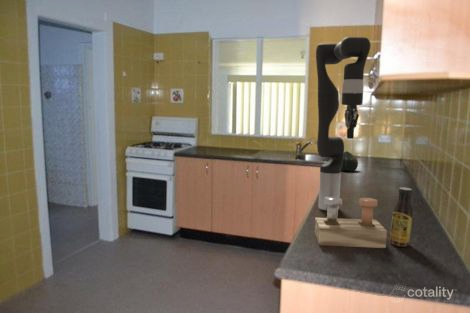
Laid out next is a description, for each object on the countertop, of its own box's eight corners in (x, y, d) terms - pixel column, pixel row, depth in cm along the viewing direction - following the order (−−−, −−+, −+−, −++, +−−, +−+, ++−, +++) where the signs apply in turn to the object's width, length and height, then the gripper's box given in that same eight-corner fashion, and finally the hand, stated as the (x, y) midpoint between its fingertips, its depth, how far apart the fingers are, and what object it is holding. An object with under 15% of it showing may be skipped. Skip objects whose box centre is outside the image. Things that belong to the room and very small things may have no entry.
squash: (350, 166, 261) (356, 149, 267) (331, 164, 271) (337, 148, 277) (356, 177, 270) (362, 160, 276) (337, 175, 280) (344, 159, 286)
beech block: (314, 233, 138) (315, 217, 137) (375, 235, 137) (376, 219, 136) (319, 245, 126) (320, 228, 126) (385, 247, 125) (386, 230, 124)
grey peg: (322, 217, 134) (323, 196, 133) (339, 218, 134) (340, 196, 133) (324, 222, 128) (325, 200, 127) (342, 223, 128) (343, 201, 127)
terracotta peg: (356, 218, 133) (357, 197, 132) (373, 219, 133) (374, 198, 132) (360, 224, 127) (361, 201, 126) (378, 224, 127) (379, 202, 126)
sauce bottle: (386, 244, 128) (390, 188, 126) (393, 239, 133) (398, 185, 130) (405, 249, 124) (410, 191, 121) (412, 244, 128) (417, 188, 125)
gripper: (338, 92, 146) (336, 136, 148) (346, 91, 133) (343, 139, 135) (358, 93, 145) (355, 137, 148) (367, 91, 132) (364, 140, 134)
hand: (350, 138), depth 141 cm, fingers closed
